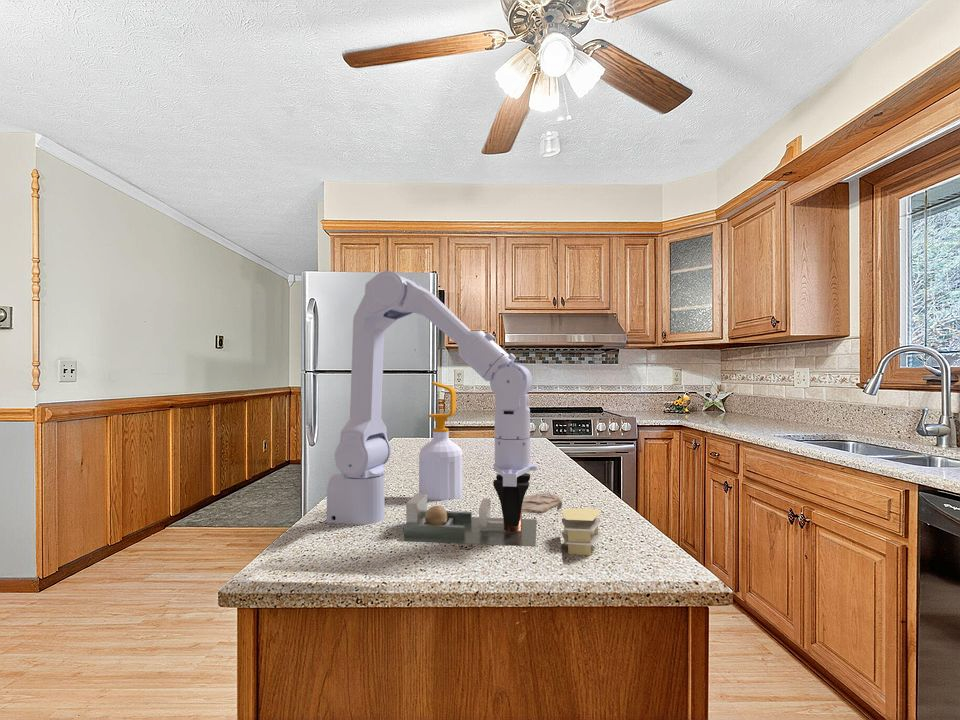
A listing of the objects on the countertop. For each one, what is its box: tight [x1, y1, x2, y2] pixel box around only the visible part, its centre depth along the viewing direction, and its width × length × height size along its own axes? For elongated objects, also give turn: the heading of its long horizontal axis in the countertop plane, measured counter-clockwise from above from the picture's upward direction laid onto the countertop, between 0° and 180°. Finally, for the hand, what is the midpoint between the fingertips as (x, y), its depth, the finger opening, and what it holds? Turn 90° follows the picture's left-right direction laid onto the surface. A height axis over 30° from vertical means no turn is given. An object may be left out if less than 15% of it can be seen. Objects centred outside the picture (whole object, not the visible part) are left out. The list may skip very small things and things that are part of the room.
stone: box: [522, 492, 563, 514], centre depth 101 cm, size 11×12×3 cm
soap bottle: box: [418, 381, 463, 501], centre depth 110 cm, size 9×9×25 cm
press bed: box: [396, 492, 538, 548], centre depth 86 cm, size 21×14×6 cm, turn 83°
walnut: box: [425, 505, 447, 525], centre depth 86 cm, size 4×4×4 cm
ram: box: [478, 498, 523, 532], centre depth 85 cm, size 7×6×6 cm
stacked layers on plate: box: [561, 507, 601, 556], centre depth 80 cm, size 10×9×6 cm
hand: (512, 522), depth 85 cm, fingers closed on ram, 3 cm apart
